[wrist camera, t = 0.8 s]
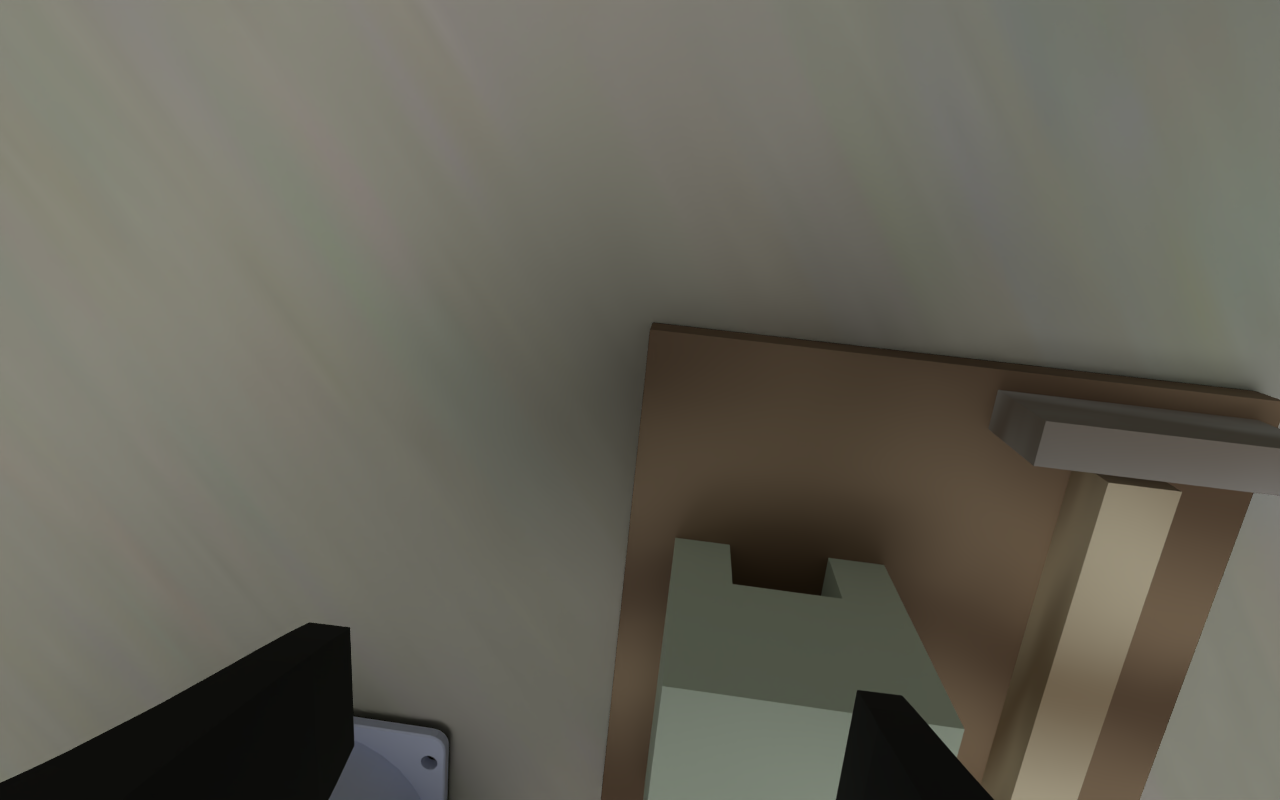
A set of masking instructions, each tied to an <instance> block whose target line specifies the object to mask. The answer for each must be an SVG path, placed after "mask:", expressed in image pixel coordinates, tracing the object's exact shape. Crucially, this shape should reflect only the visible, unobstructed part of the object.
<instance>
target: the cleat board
mask: <svg viewBox="0 0 1280 800" xmlns="http://www.w3.org/2000/svg"><path fill="white" fill-rule="evenodd" d="M1279 423H1280V400H1279V399H1276V398H1273V397H1271V396H1268V395H1265V394H1262V393H1259V392H1256V391H1249V390H1241V389H1232V388H1223V387H1214V386H1205V385H1197V384H1188V383H1179V382H1170V381H1161V380H1153V379H1144V378H1135V377H1126V376H1117V375H1109V374H1100V373H1091V372H1082V371H1074V370H1065V369H1056V368H1047V367H1038V366H1030V365H1021V364H1012V363H1003V362H994V361H986V360H977V359H968V358H959V357H950V356H942V355H933V354H924V353H915V352H906V351H898V350H889V349H880V348H871V347H862V346H854V345H845V344H836V343H827V342H819V341H810V340H801V339H792V338H783V337H775V336H766V335H757V334H748V333H739V332H731V331H722V330H713V329H704V328H695V327H687V326H678V325H669V324H660V323H653V324H652V326H651V328H650V335H649V344H648V354H647V363H646V373H645V382H644V392H643V402H642V411H641V421H640V430H639V440H638V450H637V459H636V469H635V478H634V488H633V497H632V507H631V517H630V526H629V536H628V545H627V555H626V565H625V574H624V584H623V593H622V603H621V612H620V622H619V632H618V641H617V651H616V660H615V670H614V679H613V689H612V699H611V708H610V718H609V727H608V737H607V747H606V756H605V766H604V775H603V785H602V794H601V800H643V796H644V786H645V777H646V769H647V761H648V753H649V745H650V737H651V729H652V721H653V713H654V705H655V697H656V689H657V681H658V673H659V665H660V657H661V649H662V641H663V633H664V625H665V617H666V609H667V601H668V593H669V585H670V577H671V569H672V561H673V553H674V545H675V538H682V539H689V540H697V541H705V542H712V543H720V544H728V545H730V555H731V569H732V583H733V584H736V585H743V586H751V587H758V588H766V589H773V590H781V591H788V592H796V593H803V594H810V595H818V596H821V593H822V588H823V583H824V578H825V573H826V567H827V562H828V558H834V559H842V560H850V561H857V562H865V563H873V564H880V565H884V566H885V568H886V570H887V572H888V574H889V576H890V578H891V580H892V582H893V584H894V586H895V588H896V590H897V592H898V594H899V596H900V599H901V601H902V603H903V605H904V607H905V609H906V611H907V613H908V615H909V617H910V619H911V621H912V623H913V625H914V627H915V629H916V631H917V633H918V635H919V637H920V639H921V641H922V643H923V645H924V647H925V650H926V652H927V654H928V656H929V658H930V660H931V662H932V664H933V666H934V668H935V670H936V672H937V674H938V676H939V678H940V680H941V682H942V684H943V686H944V688H945V690H946V692H947V694H948V696H949V699H950V701H951V703H952V705H953V707H954V709H955V711H956V713H957V715H958V717H959V719H960V721H961V723H962V725H963V727H964V729H965V730H964V733H963V737H962V741H961V744H960V748H959V751H958V755H957V758H958V760H959V761H960V762H961V763H962V764H963V765H964V766H965V768H966V769H967V770H968V771H969V772H970V773H971V774H972V775H973V777H974V778H975V779H976V780H977V781H978V782H979V783H980V784H981V786H982V787H983V788H984V789H985V790H986V791H987V792H988V793H989V794H990V796H991V797H992V798H993V799H994V800H1140V797H1141V794H1142V792H1143V789H1144V786H1145V784H1146V781H1147V778H1148V776H1149V773H1150V770H1151V768H1152V765H1153V762H1154V759H1155V757H1156V754H1157V751H1158V749H1159V746H1160V743H1161V741H1162V738H1163V735H1164V733H1165V730H1166V727H1167V724H1168V722H1169V719H1170V716H1171V714H1172V711H1173V708H1174V706H1175V703H1176V700H1177V697H1178V695H1179V692H1180V689H1181V687H1182V684H1183V681H1184V679H1185V676H1186V673H1187V671H1188V668H1189V665H1190V662H1191V660H1192V657H1193V654H1194V652H1195V649H1196V646H1197V644H1198V641H1199V638H1200V636H1201V633H1202V630H1203V627H1204V625H1205V622H1206V619H1207V617H1208V614H1209V611H1210V609H1211V606H1212V603H1213V601H1214V598H1215V595H1216V592H1217V590H1218V587H1219V584H1220V582H1221V579H1222V576H1223V574H1224V571H1225V568H1226V566H1227V563H1228V560H1229V557H1230V555H1231V552H1232V549H1233V547H1234V544H1235V541H1236V539H1237V536H1238V533H1239V530H1240V528H1241V525H1242V522H1243V520H1244V517H1245V514H1246V512H1247V509H1248V506H1249V504H1250V501H1251V498H1252V495H1253V493H1261V494H1269V495H1277V496H1280V429H1279V428H1278V425H1279Z"/></svg>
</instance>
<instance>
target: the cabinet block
mask: <svg viewBox="0 0 1280 800" xmlns="http://www.w3.org/2000/svg"><path fill="white" fill-rule="evenodd" d="M857 690H862V691H871V692H879V693H887V694H895V695H902V696H903V697H904V698H905V699H906V700H907V701H908V702H909V703H910V704H911V706H912V707H913V708H914V709H915V710H916V711H917V712H918V714H919V715H920V716H921V717H922V718H923V719H924V720H925V722H926V723H927V724H928V725H929V726H930V727H931V729H932V730H933V731H934V732H935V733H936V734H937V735H938V737H939V738H940V739H941V740H942V741H943V742H944V744H945V745H946V746H947V747H948V748H949V749H950V750H951V752H952V753H953V754H954V755H955V756H956V757H957V755H958V751H959V748H960V744H961V741H962V737H963V733H964V730H965V729H964V727H963V725H962V723H961V721H960V719H959V717H958V715H957V713H956V711H955V709H954V707H953V705H952V703H951V701H950V699H949V696H948V694H947V692H946V690H945V688H944V686H943V684H942V682H941V680H940V678H939V676H938V674H937V672H936V670H935V668H934V666H933V664H932V662H931V660H930V658H929V656H928V654H927V652H926V650H925V647H924V645H923V643H922V641H921V639H920V637H919V635H918V633H917V631H916V629H915V627H914V625H913V623H912V621H911V619H910V617H909V615H908V613H907V611H906V609H905V607H904V605H903V603H902V601H901V599H900V596H899V594H898V592H897V590H896V588H895V586H894V584H893V582H892V580H891V578H890V576H889V574H888V572H887V570H886V568H885V566H884V565H880V564H873V563H865V562H857V561H850V560H842V559H834V558H828V562H827V567H826V573H825V578H824V583H823V588H822V593H821V596H818V595H810V594H803V593H796V592H788V591H781V590H773V589H766V588H758V587H751V586H743V585H736V584H733V583H732V569H731V555H730V545H728V544H720V543H712V542H705V541H697V540H689V539H682V538H675V545H674V553H673V561H672V569H671V577H670V585H669V593H668V601H667V609H666V617H665V625H664V633H663V641H662V649H661V657H660V665H659V673H658V681H657V689H656V697H655V705H654V713H653V721H652V729H651V737H650V745H649V753H648V761H647V769H646V777H645V786H644V796H643V800H836V796H837V791H838V786H839V781H840V775H841V770H842V765H843V760H844V755H845V750H846V744H847V739H848V734H849V729H850V724H851V719H852V713H853V708H854V703H855V698H856V693H857Z"/></svg>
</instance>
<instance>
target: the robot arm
mask: <svg viewBox="0 0 1280 800" xmlns="http://www.w3.org/2000/svg"><path fill="white" fill-rule="evenodd" d="M427 756H431V757H434V758H435V759H436V760H432V759H429V758H428V757H427ZM448 758H449V742H448V738H447V737H446V735H445V734H444V733H443V732H441V731H440V730H437V729H434V728H428V727H421V726H414V725H408V724H401V723H394V722H388V721H381V720H374V719H367V718H361V717H354V716H353V694H352V667H351V641H350V627H342V626H334V625H326V624H317V623H307V624H305V625H303V626H301V627H299V628H297V629H295V630H293V631H291V632H289V633H287V634H285V635H283V636H282V637H280V638H278V639H276V640H274V641H272V642H271V643H269V644H267V645H265V646H263V647H262V648H260V649H258V650H256V651H254V652H253V653H251V654H249V655H247V656H245V657H244V658H242V659H240V660H238V661H237V662H235V663H233V664H231V665H229V666H228V667H226V668H224V669H222V670H221V671H219V672H217V673H215V674H213V675H212V676H210V677H208V678H206V679H204V680H203V681H201V682H199V683H197V684H195V685H193V686H192V687H190V688H188V689H186V690H184V691H183V692H181V693H179V694H177V695H175V696H174V697H172V698H170V699H168V700H166V701H165V702H163V703H161V704H159V705H157V706H155V707H153V708H151V709H149V710H148V711H146V712H144V713H142V714H140V715H138V716H136V717H134V718H132V719H130V720H128V721H126V722H124V723H122V724H120V725H118V726H116V727H114V728H112V729H111V730H109V731H107V732H105V733H103V734H101V735H99V736H97V737H95V738H93V739H91V740H89V741H87V742H85V743H83V744H81V745H79V746H77V747H75V748H74V749H72V750H70V751H68V752H66V753H64V754H61V755H59V756H57V757H55V758H53V759H51V760H49V761H47V762H45V763H43V764H41V765H38V766H36V767H34V768H32V769H30V770H28V771H25V772H23V773H21V774H19V775H17V776H15V777H13V778H10V779H8V780H6V781H3V782H1V783H0V800H447V793H448ZM836 800H994V799H993V798H992V797H991V796H990V794H989V793H988V792H987V791H986V790H985V789H984V788H983V787H982V786H981V784H980V783H979V782H978V781H977V780H976V779H975V778H974V777H973V775H972V774H971V773H970V772H969V771H968V770H967V769H966V768H965V766H964V765H963V764H962V763H961V762H960V761H959V760H958V758H957V757H956V756H955V755H954V754H953V753H952V752H951V750H950V749H949V748H948V747H947V746H946V745H945V744H944V742H943V741H942V740H941V739H940V738H939V737H938V735H937V734H936V733H935V732H934V731H933V730H932V729H931V727H930V726H929V725H928V724H927V723H926V722H925V720H924V719H923V718H922V717H921V716H920V715H919V714H918V712H917V711H916V710H915V709H914V708H913V707H912V706H911V704H910V703H909V702H908V701H907V700H906V699H905V698H904V697H903V696H902V695H895V694H887V693H879V692H871V691H862V690H857V693H856V698H855V703H854V708H853V713H852V719H851V724H850V729H849V734H848V739H847V744H846V750H845V755H844V760H843V765H842V770H841V775H840V781H839V786H838V791H837V796H836Z"/></svg>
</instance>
